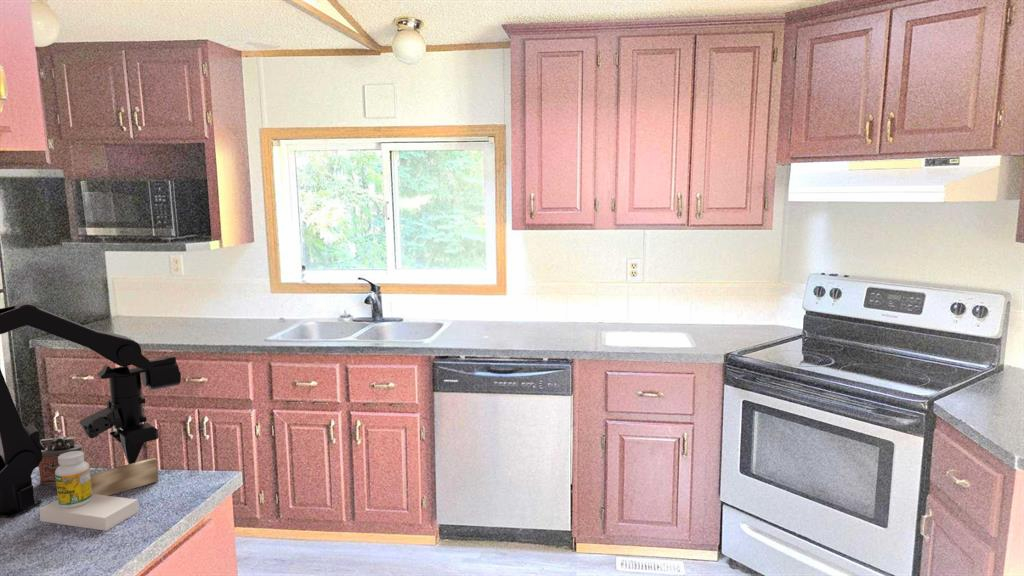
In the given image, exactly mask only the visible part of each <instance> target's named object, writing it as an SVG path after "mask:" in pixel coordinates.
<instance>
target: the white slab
mask: <svg viewBox="0 0 1024 576" xmlns="http://www.w3.org/2000/svg"><path fill="white" fill-rule="evenodd" d="M138 501H139V499H136V498H130V497H129V498H126V497H121V496H112V495H109V496H106V495H98V494H92V499H91V500H90V501H89V502H88V503H86V504H84V505H81V506H78V507H73V508H62V507H60V506H59V504H58V499H56V500H54V501H52V502H50V503H48V504H46V505H43V506H42V507H40V508H39V518H40V519H39V520H40V522H45V523H53V524H56V525H57V524H58V525H63V526H70V527H71V526H72V527H78V528H85V529H91V530H99V531H105V532H107V531H108V530H110V529H112V528H114V527H115V526H117V525H119V524H121V523H122V522H123V521H125V520H128V519H129V518H131V517H133V516H134V515H136V514H138V513H139V510H140V509H139V502H138Z"/></svg>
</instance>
